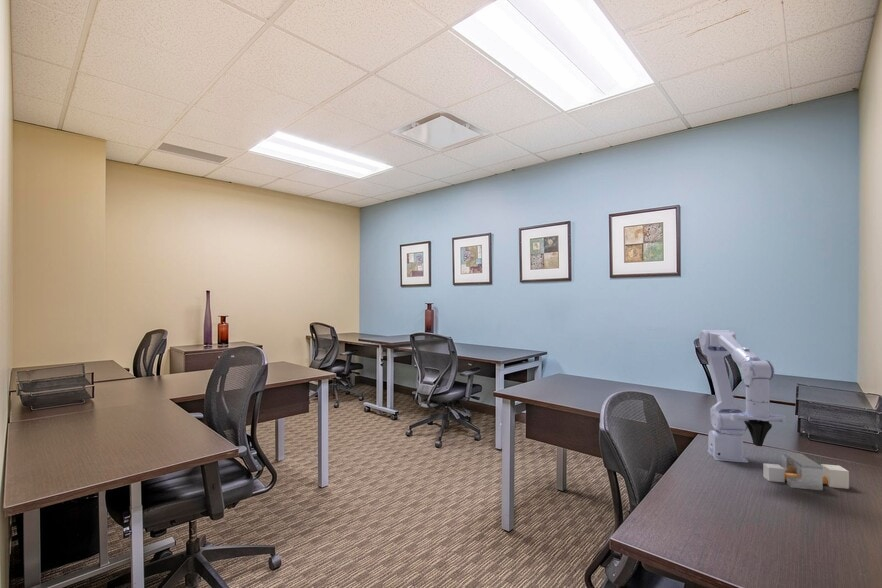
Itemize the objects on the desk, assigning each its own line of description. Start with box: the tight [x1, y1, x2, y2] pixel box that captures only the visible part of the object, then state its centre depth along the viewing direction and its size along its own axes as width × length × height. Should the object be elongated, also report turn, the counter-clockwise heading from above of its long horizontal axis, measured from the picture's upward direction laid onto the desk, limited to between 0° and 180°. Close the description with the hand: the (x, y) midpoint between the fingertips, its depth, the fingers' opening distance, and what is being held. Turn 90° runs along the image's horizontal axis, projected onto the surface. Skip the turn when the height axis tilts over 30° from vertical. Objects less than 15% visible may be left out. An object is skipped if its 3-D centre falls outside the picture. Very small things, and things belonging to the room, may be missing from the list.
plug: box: [762, 463, 850, 490], centre depth 122 cm, size 20×4×5 cm, turn 76°
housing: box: [781, 451, 824, 491], centre depth 123 cm, size 8×10×7 cm
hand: (757, 445), depth 125 cm, fingers closed
